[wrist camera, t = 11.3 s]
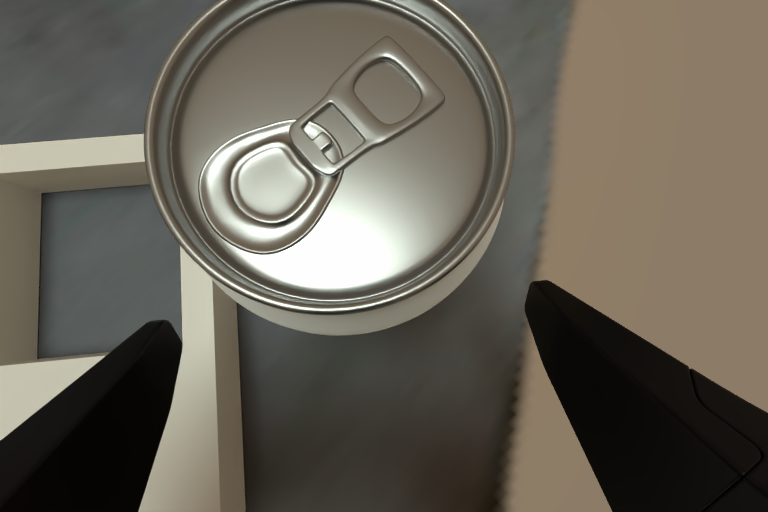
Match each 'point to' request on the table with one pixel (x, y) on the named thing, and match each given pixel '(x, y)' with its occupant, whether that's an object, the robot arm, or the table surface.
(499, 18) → the table surface
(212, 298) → the control panel
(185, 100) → the can
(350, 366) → the table surface
